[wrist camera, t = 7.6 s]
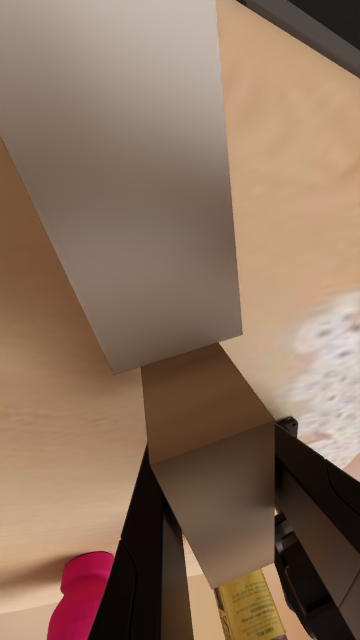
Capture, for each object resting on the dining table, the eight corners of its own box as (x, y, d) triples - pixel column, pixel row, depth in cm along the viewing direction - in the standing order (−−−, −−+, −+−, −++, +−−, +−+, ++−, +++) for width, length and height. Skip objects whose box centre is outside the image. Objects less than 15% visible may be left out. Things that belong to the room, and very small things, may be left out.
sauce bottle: (191, 522, 29) (284, 971, 12) (230, 501, 29) (384, 923, 12) (209, 536, 32) (305, 908, 15) (245, 516, 32) (384, 869, 15)
